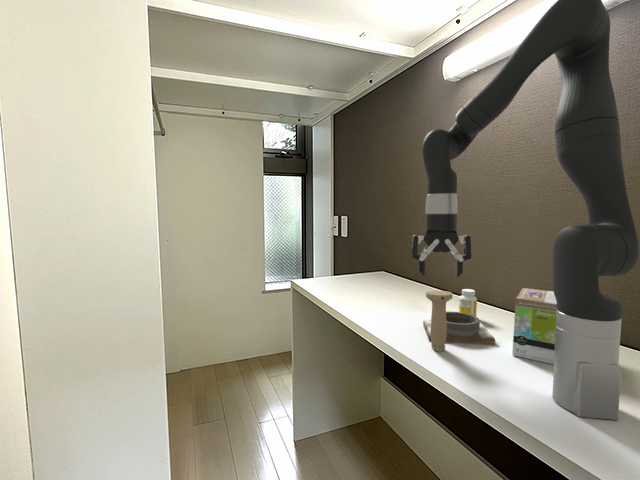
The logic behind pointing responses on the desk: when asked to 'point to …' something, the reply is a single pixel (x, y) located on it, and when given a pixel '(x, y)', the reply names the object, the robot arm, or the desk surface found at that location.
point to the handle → (438, 318)
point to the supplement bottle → (468, 302)
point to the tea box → (535, 325)
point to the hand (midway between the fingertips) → (440, 275)
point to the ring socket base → (463, 329)
